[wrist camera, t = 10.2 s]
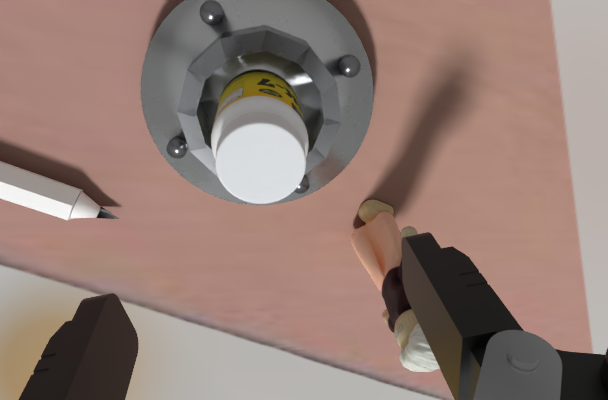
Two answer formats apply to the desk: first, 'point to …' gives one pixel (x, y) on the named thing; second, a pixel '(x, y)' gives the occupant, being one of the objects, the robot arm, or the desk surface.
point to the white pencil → (47, 194)
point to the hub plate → (246, 56)
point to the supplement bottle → (259, 137)
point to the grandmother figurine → (392, 281)
